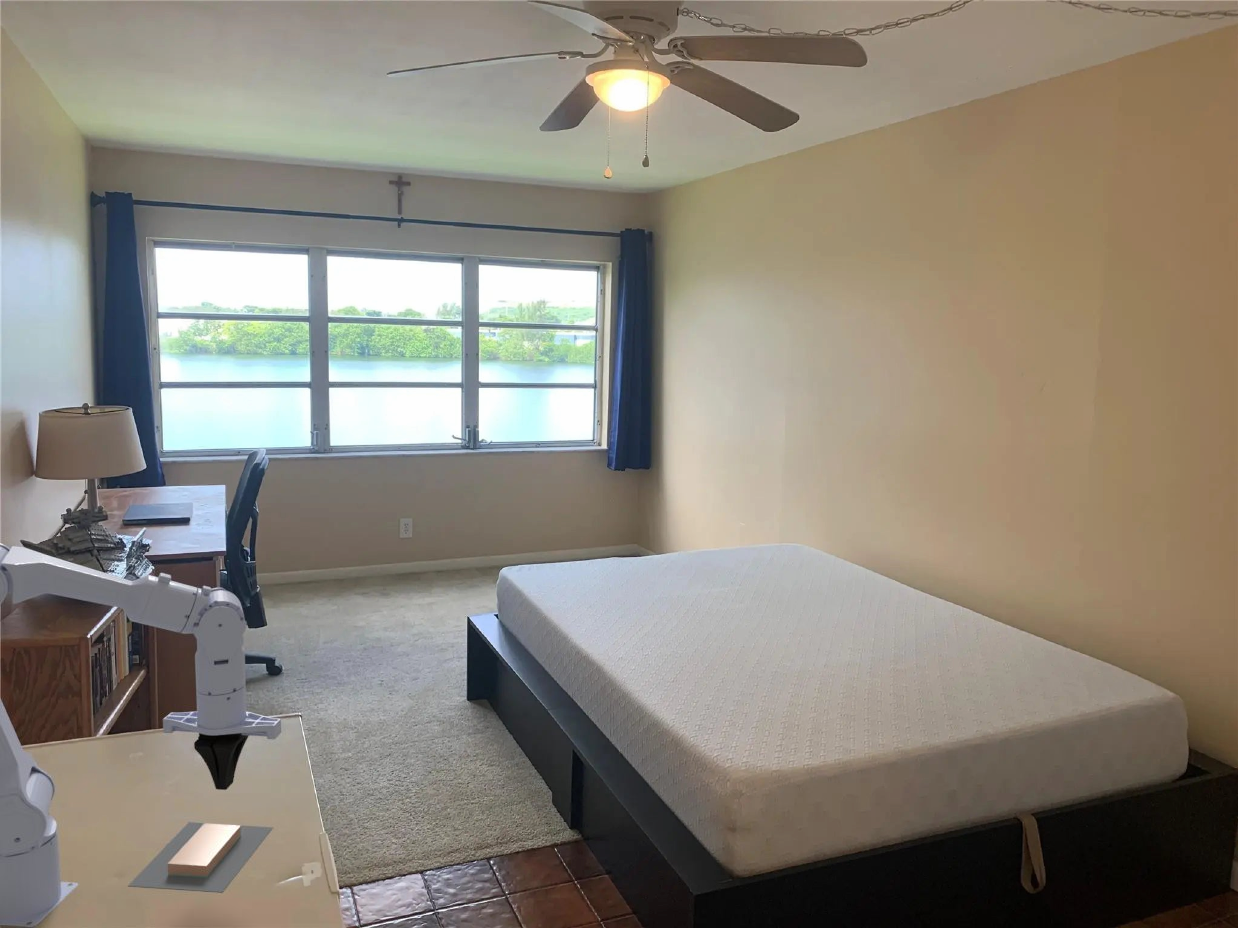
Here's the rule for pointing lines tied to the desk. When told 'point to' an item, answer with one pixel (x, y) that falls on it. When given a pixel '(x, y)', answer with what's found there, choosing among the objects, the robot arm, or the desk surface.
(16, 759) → the robot arm
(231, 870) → the mat
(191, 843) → the tan wooden block
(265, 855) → the desk surface
